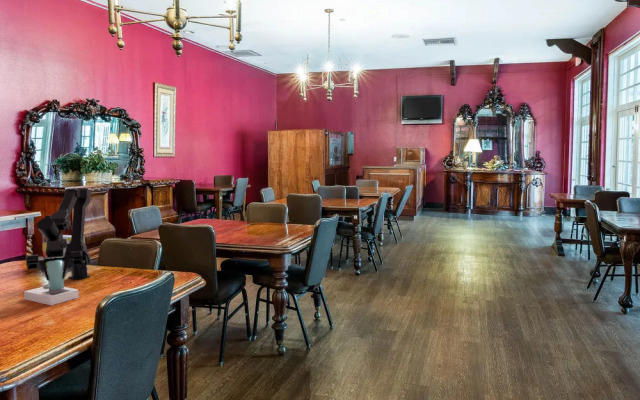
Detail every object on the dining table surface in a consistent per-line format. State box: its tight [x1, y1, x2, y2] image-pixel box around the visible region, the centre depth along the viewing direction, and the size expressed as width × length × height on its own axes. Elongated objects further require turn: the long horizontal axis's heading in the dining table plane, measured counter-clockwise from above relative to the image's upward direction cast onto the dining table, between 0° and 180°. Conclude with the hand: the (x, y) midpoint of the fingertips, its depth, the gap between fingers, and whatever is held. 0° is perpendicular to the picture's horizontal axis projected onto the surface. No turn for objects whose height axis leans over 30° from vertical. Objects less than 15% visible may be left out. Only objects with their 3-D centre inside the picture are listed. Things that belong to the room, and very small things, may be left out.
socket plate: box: [23, 284, 80, 306], centre depth 191 cm, size 16×11×4 cm
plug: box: [47, 260, 65, 295], centre depth 189 cm, size 5×5×13 cm
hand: (55, 279), depth 188 cm, fingers closed on plug, 5 cm apart
